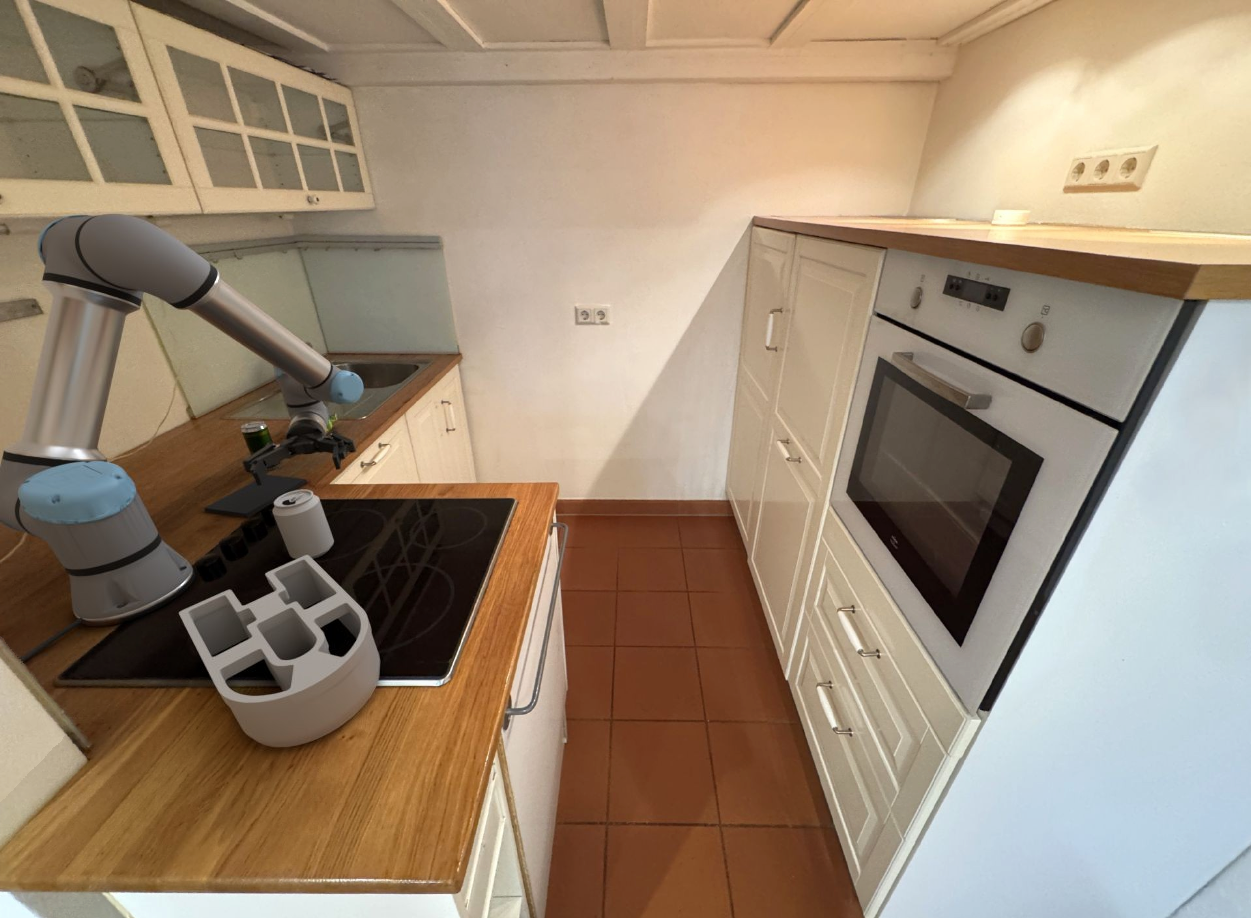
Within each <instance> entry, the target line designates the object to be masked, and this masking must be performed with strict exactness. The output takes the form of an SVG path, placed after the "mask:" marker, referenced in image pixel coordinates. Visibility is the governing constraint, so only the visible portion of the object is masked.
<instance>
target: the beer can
mask: <svg viewBox="0 0 1251 918" xmlns="http://www.w3.org/2000/svg"><path fill="white" fill-rule="evenodd" d="M240 429H241V430H240V431H241V434H242V435H243V436H242V437H243V439H244V442H245V444H246V447H247V449H248V451H249V453H250V456H251V455H253V454H254V453H256V452H257V451H259V450H261V449H262V448H264V447H265V446H266V445H267V443H269V442H274V441H273V439H272V436H271V433H270V430H269V428H268V425H267V424H266V423H265V421H264V420H254V421H250V422H246V423H244V424H242V425H241V426H240ZM280 466H281V461H280V462H278V463H276V464H275V465H273V466H271V467H269V468H267V469H266V470H267V472H269V471H273V470H276V469H277V468H279V467H280Z"/></svg>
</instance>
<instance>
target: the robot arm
mask: <svg viewBox="0 0 1251 918" xmlns="http://www.w3.org/2000/svg"><path fill="white" fill-rule="evenodd" d="M36 244H37V247H36V248H37V254H38V256H39V258H40V260H41V262H42V263H43V265H44V270H43V274H42V278H41V279H42V280H41V285H43V287H44V288H45V289H46V290H47V292H49V293H50V295H51V296H52V301H51V305H50V310H49V314H48V318H47V323H46V327H45V332H44V336H43V342H42V346H41V350H40V355H39V359H38V363H37V368H36V373H35V377H34V381H33V385H32V389H31V390H32V391H31V395H30V399H29V404H28V408H27V409H28V410H27V413H26V417H25V420H24V421H25V422H24V426H23V430H22V435H21V438H20V439H19V441H16V442H14V443H12V444H11V445H9V446H6V447H4V448H3V453H2V457H1V460H0V523H1V524H3V526H5V527H8V528H10V529H13V530H14V531H19V532H23V533H25V534H28V535H31V536H33V537H36V538H38V539H41V540H43V541H45V542H46V543H47V545H48V546H49V547H50V549H51V550H52V552H53V553H54V555H55V557H56V558H57V559H58V561H59V562H60V564H61V565H62V567H63V569H64V570H65V571H66V573H67V575H68V576H69V582H70V583H69V584H70V595H71V607H72V612H73V614H74V615H75V617H76V618H77V619H76V620H75V621H73V622H72V623H70V624H68V625H67V626H66V627H64V628H62V629H61V630H60V631H58V632H56V633H55V634H53V635H52V636H50V637H49V638H47V639H46V640H44V641H42V642H41V643H40V644H39V645H37V646H35V647H34V648H33V649H31V650H30V651H28V652H27V653H25V654H24V655H23V656H21V657H19V658H18V659H21V661H23V663H25V662H26V661H28V660H29V659H30V658H32V657H33V656H35V655H37V654H38V653H40V652H41V651H43V650H44V649H45V648H47V647H49V645H51V644H52V643H54V642H55V641H57V640H59V639H60V638H62V637H63V636H64V635H66V634H67V633H69V632H70V631H72V630H74V629H75V628H76V627H78V626H79V625H81V624H82V625H85V626H89V627H105V626H111V625H112V626H113V625H118V624H122V623H125V622H128V621H129V622H130V621H133V620H135V619H139V618H141V617H143V616H145V615H148V614H150V613H153V612H154V611H156V610H159V609H160V608H162V607H164V606H166V605H168V604H169V603H171V602H172V601H174V600H176V599H177V598H179V596H181V595H182V594H183V593H184V592H186V591H187V590H188V589H189V588H190V587H191V585H192V584H193V582H194V581H195V579H196V572H195V570H194V568H193V566H192V564H191V563H190V562H189V561H188V560H187V559H186V558H185V557H183V556H182V555H181V554H180V553H178V552H177V550H174V548H172V547H171V546H170V545H169V544H167V543H166V542H165V541H164V540H163V538H162V537H161V535H160V532H159V531H158V529H157V527H156V524H155V523H154V522H153V519H152V518H151V516H150V514H149V512H148V510H147V508H146V506H145V504H144V502H143V500H142V499H141V496H140V495H139V493H138V490H137V487H136V484H135V482H134V481H133V479H132V478H131V477H130V476H129V475H128V474H127V472H126V471H125V469H124V468H123V467H121V466H119V465H118V464H115V463H113V462H109V461H108V458H107V457H106V455H104V454H103V452H101V451H100V449H99V441H100V437H101V432H102V427H103V423H104V420H105V419H104V418H105V415H106V414H105V413H106V409H107V406H108V405H107V404H108V400H109V396H110V391H111V386H112V382H113V378H114V372H115V369H116V364H117V360H118V354H119V350H120V346H121V341H122V335H123V332H124V327H125V322H126V318H127V316H128V315H130V314H133V313H135V312H137V311H140V310H141V306H142V303H143V297H144V293H146V294H148V295H151V296H154V297H156V298H157V299H160V300H162V301H163V302H165V303H167V304H169V305H170V306H171V307H173V308H174V309H176V310H180V311H185V310H186V311H187V310H188V311H189V312H191V313H193V314H195V315H196V316H198V317H199V318H201V320H203V321H205V322H206V323H208V324H210V325H211V326H212V327H215V328H216V329H217V330H219V331H220V332H221V333H223V334H224V335H226V336H228V337H229V338H230V339H232V340H234V341H235V342H236V343H238V344H240V345H241V346H243V347H244V348H246V349H248V350H249V351H251V353H254V354H255V355H257V356H258V357H259V358H261V359H263V360H264V361H266V362H267V363H268V364H270V365H271V366H273V370H274V374H275V379H276V381H277V383H278V387H279V389H280V391H281V393H282V396H283V399H284V402H285V405H286V408H287V411H288V413H289V416H290V419H291V420H290V423H289V425H288V428H287V432H286V434H285V440H284V441H282V442H281V443H279V444H276V443H275V442H274V441H273V442H269V443H267V445H266V446H265V447H264V448H262V449H261V450H259V451H257V452H256V453H254V454H253V455H251V454H250V456H248V457H247V458H245V459H243V460H242V461H241V463H242V465H243V468H244V470H245V472H246V474H247V473H248V474H249V473H250V474H251V476H252V477H253V479H254V481H256V484H257V486H259V485H262V484H263V481H264V478H265V476H266V475H267V473H268V471H267V470H266V469H267V468H269V467H271V466H273V465H275V464H276V463H278V462H280V463H281V462H282V461H284V460H287V459H288V460H290V459H293V458H294V457H296V456H301V455H312V454H315V453H316V454H317V453H320V454H322V453H328V454H332V456H331V457H332V458H331V459H332V462H333V464H334V467H335V470H336V471H338V470H341V465H342V460H345V459H346V458H347V455H348V453H351V454H353V453H356V452H357V449H356V445H355V442H354V440H353V439H351V438H349V437H347V436H344V435H342V434H340V433H339V432H338V430H332V431H331V433H330V434H328V435H327V434H326V431H327V425H328V423H329V416H330V414H329V410H328V408H327V407H326V406H325V404H324V402H326V403H331V404H332V403H333V404H336V405H353V404H355V403H357V402H358V401H359V400H360V399H361V397H362V396H363V393H364V383H363V380H362V378H361V377H360V376H359V375H358V374H357V373H355V372H352V371H349V370H346V369H341V368H339V367H337V366H336V365H335V364H333V363H332V362H331V361H329V360H328V359H327V358H325V357H324V356H323V355H322V354H320V353H319V352H317V351H316V350H315V349H313V348H312V347H311V346H310V345H308V344H307V343H306V342H304V341H303V340H302V339H300V338H299V337H297V336H296V335H295V334H293V333H292V332H291V331H290V330H288V329H287V328H285V326H283V325H281V323H279V322H278V321H276V320H275V319H274V318H273V317H271V316H270V315H269V314H267V313H266V312H264V311H263V310H262V309H261V308H260V307H258V306H257V305H256V304H254V303H253V302H252V301H250V300H249V299H247V298H246V297H245V295H242V294H241V293H240V292H238V291H237V290H236V289H235V288H233V287H232V286H230V285H229V284H228V283H227V282H225V281H224V280H223V279H221V275H220V271H219V269H217V268H216V267H215V266H214V265H213V264H211V263H210V262H208V261H207V260H206V259H205V258H204V257H202V256H200V255H199V253H197V252H195V251H194V250H192V249H191V248H190V247H189V246H187V245H186V244H184V243H183V242H182V241H180V240H179V239H177V238H176V237H174V236H173V235H171V234H170V233H168V232H167V231H165V230H164V229H162V228H160V227H159V226H157V225H155V224H153V223H151V222H150V221H147V220H144V219H142V218H139V217H136V216H132V215H129V214H122V213H105V214H98V215H89V214H73V215H67V216H64V217H61V218H58V219H56V220H54V221H52V222H49V223H48V224H46V226H45V227H44V228H42V230H41V231H40V233H39V235H38V238H37V243H36Z"/></svg>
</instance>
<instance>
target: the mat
mask: <svg viewBox="0 0 1251 918" xmlns="http://www.w3.org/2000/svg"><path fill="white" fill-rule="evenodd" d="M307 483H308V481H307V479H306V478H299V477H292V476H282V475H273V474H266V476H265V478H264V481H263V484H262V485H259V486H257V484H256V481H255V480H254V481H252V482H250V483H248V484H246V485H244V486H242V487H241V488H238V489H237V490H235V491H233V492H231V493H229V494H227V495H225V496H223V497H221V498H220V499H218V500H216V501H213V502H212V503H210V504H208V505H206V506H204V507H203V509H204V512H206V513H212V514H220V515H227V516H235V517H243V518H249V517H251V516H253V515H255V514H256V513H258V512H260V511H261V510H263V509H265V508H267V507H268V506H270V505H272V504H274V501H275V500H276V499H277V498H278V497H280V496H281V495H283V494H286V493H288V492H291V491H295V490H298V489H299V488H300V487H302V486H304V485H305V484H307Z"/></svg>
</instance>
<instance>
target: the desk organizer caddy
mask: <svg viewBox="0 0 1251 918" xmlns="http://www.w3.org/2000/svg"><path fill="white" fill-rule="evenodd" d="M264 575H265V577H266V579H267V581H268V584H269V585H270V586H271V588H272V589H273V591H272V592H270V593H268V594H266V595H264V596H262V597H260V598H257V599H256V600H254V601H252V602H249V603H247V604H245V605H242V603H241V602H240V600H239V599H238V598H237V596H236V594H235V593H234V592H233V590H232V589H227V590H225V591H222V592H220V593H218V594H216V595H214V596H211V597H209V598H207V599H205V600H202V601H200V602H198V603H195V604H194V605H191V606H189V607H186V608H184V609H182V610H180V611H179V612H178V615H179V616H180V619H181V620H182V623H183V625H184V627H185V628H186V630H187V633H188V634H189V636H190V639H191V640H192V642H193V645H194V646H195V648H196V650H197V652H198V654H199V656H200V658H201V661H202V662H203V664H204V666H205V668H206V670H207V672H208V674H209V676H210V678H211V680H212V682H213V684H214V685H215V688H216V690H217V691H218V693H219V695H220V697H221V699H222V700H223V701H224V703H225V704H226V705H227V706H228V707H229V709H230V710H231V712H232V714H233V716H234V717H235V719H236V721H237V723H238V725H239V726H240V728H241V730H242V731H243V732H244V733H245V735H247V736H248V737H249V738H251V739H252V740H254V741H255V742H257V743H259V744H261V745H263V746H267V747H271V748H290V747H295V746H296V747H297V746H300V745H304V744H307V743H310V742H313V741H315V740H316V741H317V740H318V739H321V738H323V737H325V736H326V735H329V734H330V733H332V732H335V730H337V729H339V728H341V726H343V725H344V724H346V723H347V722H348V721H349V720H351V719H352V718H353V717H354V716H355V715H357V714H358V713H359V711H360V710H362V709H363V707H364V706H365V705H366V704H367V702H368V701H369V700H370V698H371V697H372V695H373V694H374V692H375V690H376V689H377V686H378V682H379V680H380V673H381V672H380V669H381V659H380V653H379V651H378V648H377V645H376V642H375V639H374V636H373V633H372V631H373V630H372V627H371V623H370V620H369V618H368V615H367V613H366V611H365V610H364V608H362V606H360V604H359V603H357V602H356V600H355V599H354V598H352V596H350V595H349V593H347V591H346V590H345V589H343V588H342V586H340V585H339V583H337V582H336V581H335V580H334V579H333V578H332V577H331V576H330V575H329V574H328V573H327V572H326V571H325V570H324V568H322V567H321V566H320V564H318V563H317V562H316V561H315V560H314V559H312V558H311V557H310V556H309V555H305V556H303V557H300V558H298V559H296V558H295V559H293V560H291V561H289V562H287V563H285V564H283V565H280V566H278V567H276V568H274V569H271V570H269V571H267V572H265V574H264ZM310 606H311V607H310ZM308 607H309V608H308ZM337 619H338V620H339V621H340V623H341V624H342V625H343V626H344V627H345V628H346V629H347V630H348V631H349V632H350V633H351V635H352V636H353V637H354V638H355V639H356V641H355V642H354V643H353V645H352V646H351V648H350V649H349V650H348V651H347V652H346V653H345V654H344V655H343V656H338V655H334V654H331V652H330V650H329V647H330V645H329V643H328V641H327V638H326V636H325V632H324V631H323V630H322V629H321V628H323V627H324V626H326V625H328V624H330V623H332V622H333V621H335V620H337ZM242 641H243V642H242ZM236 644H237V645H236ZM234 645H235V646H234ZM232 646H233V647H232ZM228 648H229V649H228ZM226 649H227V650H226ZM224 650H225V651H224ZM222 651H223V652H222ZM220 652H221V653H220ZM218 653H219V654H218ZM262 660H264V662H265V665H266V666H267V668H268V671H269V672H270V674H271V675H272V677H273V678H274V680H275V681H276V683H277V685H278V686H279V688H280V690H282V691H280V692H276V693H272V694H264V695H247V694H242V693H238V692H236V691H234V690H232V689H231V688H230V687H229V686H228V685H227V682H226V681H227V680H228V679H230V678H231V677H233V676H234V675H237V674H238V673H241V672H242V671H244V670H246V669H247V668H249V667H252V666H253V665H255V664H257V663H258V662H261V661H262Z"/></svg>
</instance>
